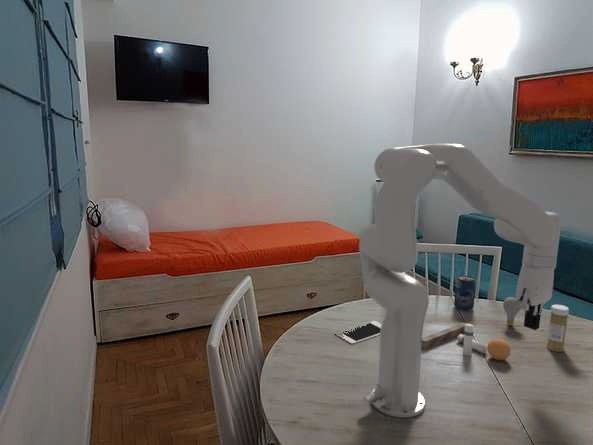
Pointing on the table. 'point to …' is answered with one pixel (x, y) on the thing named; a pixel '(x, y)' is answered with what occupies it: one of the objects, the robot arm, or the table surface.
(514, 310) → the light bulb
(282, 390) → the table surface
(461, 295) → the soda can
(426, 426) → the table surface
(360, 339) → the cell phone
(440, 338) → the brown wooden bar
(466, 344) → the side pin
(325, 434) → the table surface
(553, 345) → the sprinkles bottle
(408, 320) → the robot arm
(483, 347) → the front pin
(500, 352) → the ball
